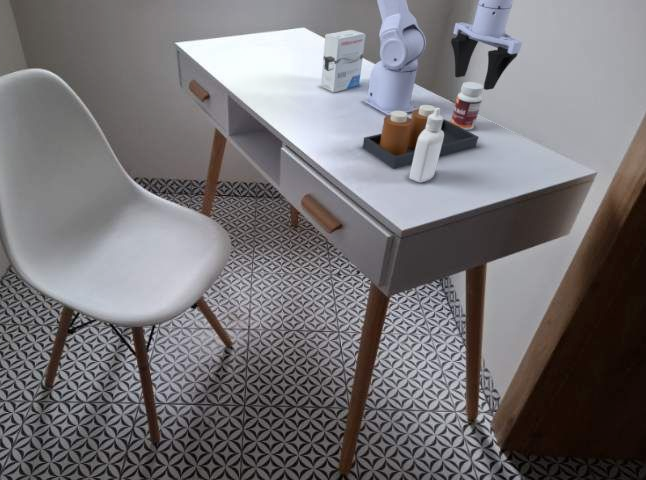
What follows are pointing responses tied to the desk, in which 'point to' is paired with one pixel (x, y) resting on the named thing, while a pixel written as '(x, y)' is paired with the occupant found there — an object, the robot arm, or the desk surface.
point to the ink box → (342, 60)
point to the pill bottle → (467, 105)
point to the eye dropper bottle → (428, 149)
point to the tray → (452, 143)
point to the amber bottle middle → (419, 123)
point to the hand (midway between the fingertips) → (473, 82)
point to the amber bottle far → (396, 132)
